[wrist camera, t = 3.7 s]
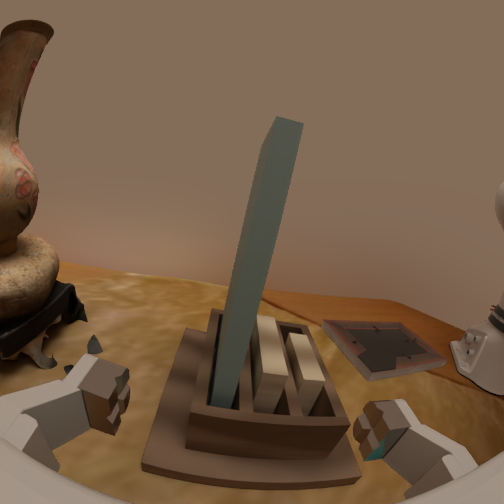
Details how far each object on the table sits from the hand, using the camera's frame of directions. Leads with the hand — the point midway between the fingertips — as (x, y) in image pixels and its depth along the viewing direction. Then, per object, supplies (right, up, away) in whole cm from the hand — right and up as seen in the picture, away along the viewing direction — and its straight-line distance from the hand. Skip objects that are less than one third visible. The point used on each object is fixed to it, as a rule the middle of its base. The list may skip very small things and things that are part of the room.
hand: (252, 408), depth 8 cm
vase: (-30, -5, +15) cm, 34 cm away
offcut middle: (0, -10, +18) cm, 20 cm away
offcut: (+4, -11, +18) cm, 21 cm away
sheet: (-3, -9, +18) cm, 20 cm away
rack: (0, -11, +18) cm, 21 cm away
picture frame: (+25, -14, +36) cm, 46 cm away
